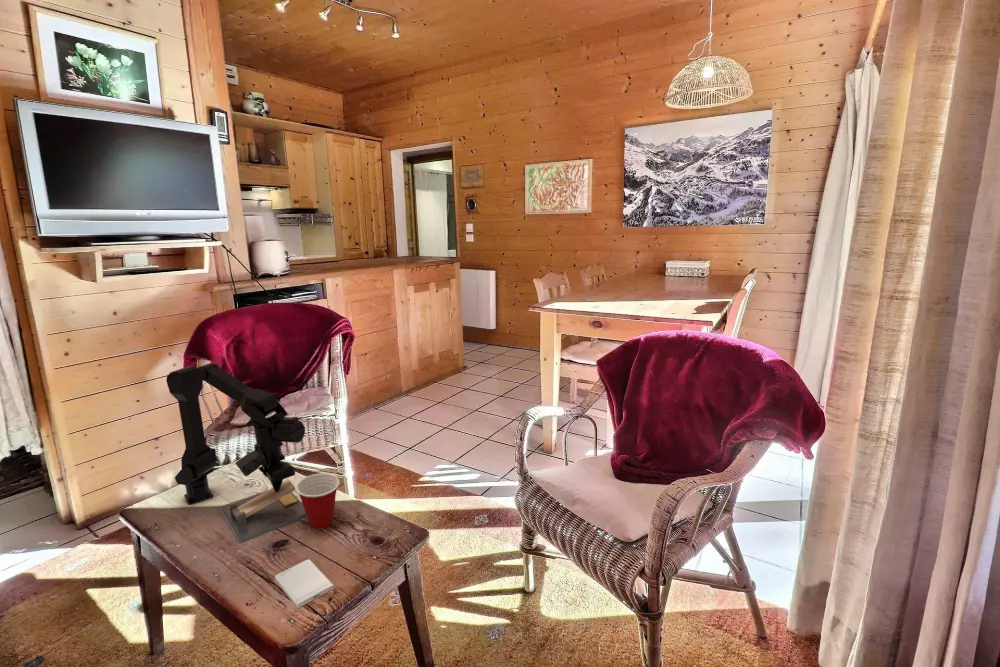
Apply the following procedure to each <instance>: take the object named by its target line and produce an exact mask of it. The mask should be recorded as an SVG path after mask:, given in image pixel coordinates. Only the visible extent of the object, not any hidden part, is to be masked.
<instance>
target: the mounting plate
mask: <svg viewBox="0 0 1000 667" xmlns="http://www.w3.org/2000/svg"><path fill="white" fill-rule="evenodd" d="M268 490H269V489H268ZM268 490H265V491H263V492H259V493H256V494H253V495H250V496H247V497H243V498H241V499H238V500H235V501H231V502H228V503H227V504H223V505H220V506H219V510H220V513H221V514H222V516H223V518H224V519H225V521H226V523H227V525H228V527H229V528H230V530H231V532H232V533H233V535H234V537H235V538H236V541H237V542H238V544H240V543H243V542H245V541H247V540H251V539H253V538H255V537H257V536H261V535H263V534H265V533H269V532H271V531H274V530H276V529H279V528H282V527H284V526H285V525H289V524H291V523H294V522H296V521H299V520H302V519H304V518H305V519H306V518H307V516H306V513H305V510H304V506H303V503H302V501H300V499H299V498H298V497H297V496H296V495H295V494H294V492H293V491H292V492H290V493H288V494H286V495H285V496H283V497H281V498H280V499H278V500H276V501H274V502H273V503H271V504H269V505H267V506H266V507H264V508H262V509H260V510H259V511H257V512H255V513H253V514H252V515H250V516H248V517H246V515H245V512H244V511H242V512H240V513H237V514H236V518H235V516H234V515H233V513H232V510H233V509H234V508H238V507H239V506H241V505H243V504H245V503H246V502H248V501H250V500H252V499H254V498H255V497H257V496H259V495H261V494H263V493H264V492H266V491H268ZM236 519H237V520H236Z"/></svg>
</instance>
